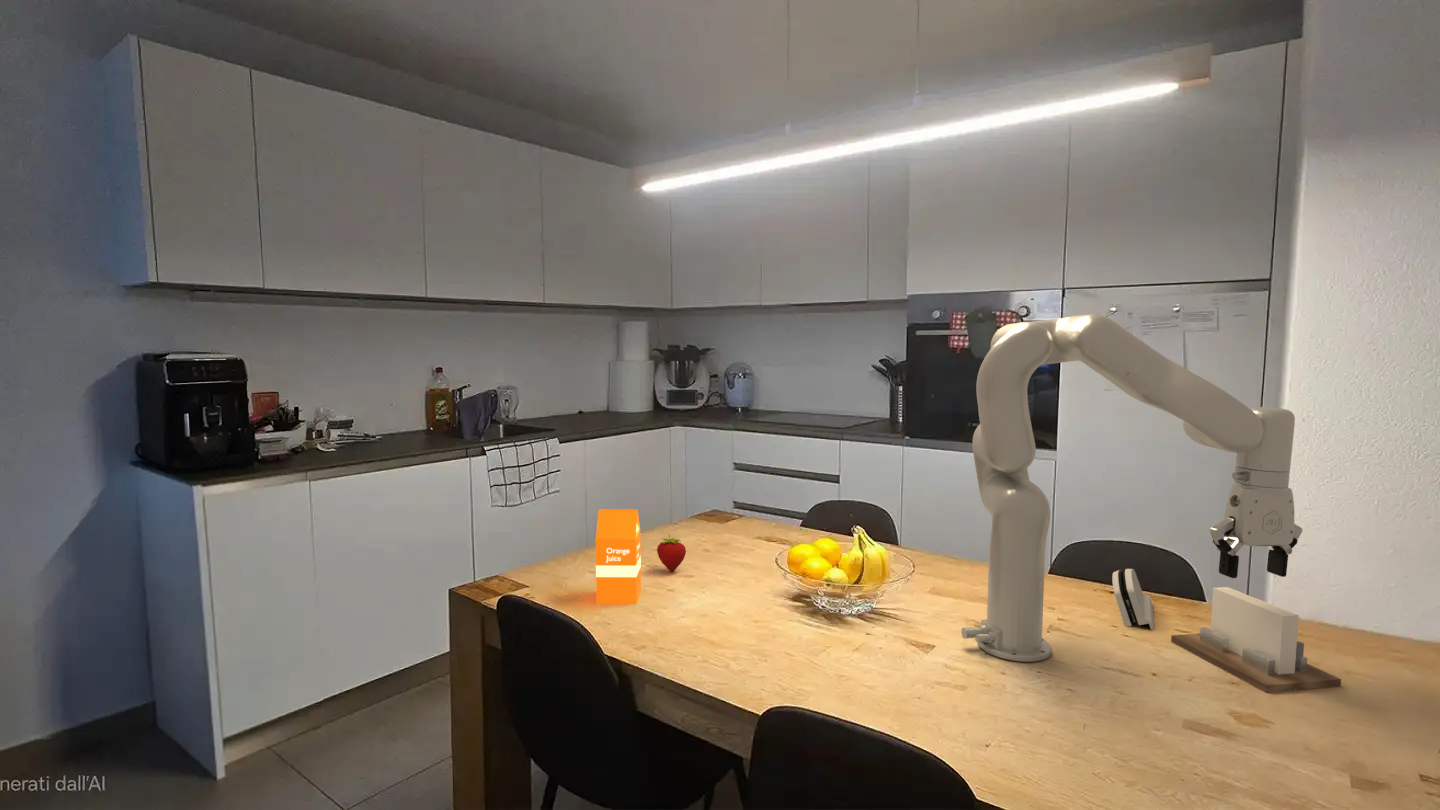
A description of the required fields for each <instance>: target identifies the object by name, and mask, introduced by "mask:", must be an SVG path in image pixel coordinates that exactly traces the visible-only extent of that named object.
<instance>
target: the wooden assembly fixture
mask: <svg viewBox="0 0 1440 810" xmlns="http://www.w3.org/2000/svg"><path fill="white" fill-rule="evenodd" d="M1199 631H1200V633H1190V634H1189V633H1187V634H1185V633H1184V634H1174V635H1173V634H1171V638H1170V643H1173V644H1175V645H1177V646H1178V645H1179V647H1180V646H1181V648H1182V647H1183V648H1182V649H1184V650H1186V649H1187V650H1186V651H1188V652H1189V653H1191V652H1192V654H1193V655H1196V656H1197V657H1198V658H1201V659H1203V660H1204V661H1206V662H1209V663H1210V664H1212V665H1214V666H1217V667H1218V668H1219V669H1222V670H1223V671H1225V672H1227V673H1229V674H1231V675H1233V676H1235V677H1236V678H1238V679H1240V680H1242V681H1243V682H1245V683H1248V684H1249V685H1252V686H1253V687H1255V688H1257V689H1258V690H1260V691H1263V692H1264V693H1276V692H1286V691H1285V690H1290V691H1296V690H1295V689H1301V690H1308V689H1307V688H1313V689H1319V688H1318V687H1325V688H1331V687H1330V686H1336V687H1341V686H1342V678H1341V677H1338V676H1335V675H1333V674H1331V673H1329V672H1326V671H1325V670H1322V669H1320V668H1318V667H1316V666H1313V665H1312V664H1309V663H1308V657H1306V656H1304V652H1305V651H1304V649H1305V643H1304V642H1303V641H1302V642H1301V641H1298V640H1297V646H1296V660H1295V673H1291V674H1277V673H1275V672H1274V671H1275V660H1273V659H1271V658H1269V657H1267V656H1265V655H1263V654H1261V653H1259V652H1257V651H1254V650H1252V649H1250V648H1243V652H1242V656H1241V655H1239V654H1237V653H1235V652H1233V651H1231V650H1229V638H1227V637H1225V636H1223V635H1221V634H1219V633H1217V632H1215V631H1213V630H1211V628H1209V627H1200V629H1199Z"/></svg>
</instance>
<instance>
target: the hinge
mask: <svg viewBox="0 0 1440 810" xmlns="http://www.w3.org/2000/svg"><path fill="white" fill-rule="evenodd" d="M1111 577H1112V578H1111V579H1112V589H1113V594H1114V597H1115V600H1116V603H1117V605H1118V609H1119V612H1120V616H1121V618H1122V621H1123V624H1124V626H1125V627H1132V625H1134V623H1135V624H1136V625H1137V624H1138V626H1142V625H1147V624H1148V625H1149V628H1150V630H1151V631H1153V632H1154V631H1155V621H1154V604H1153V601H1152V598H1151V597H1150V596H1149V595H1147V594H1145V593H1143V592H1144V591H1143V590H1142V588H1141V584H1140V582H1139V579H1138V576H1137V573H1136V571H1135V569H1134V568H1125V570H1121V569H1118V570H1116V571H1113V573H1112V576H1111Z"/></svg>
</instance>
